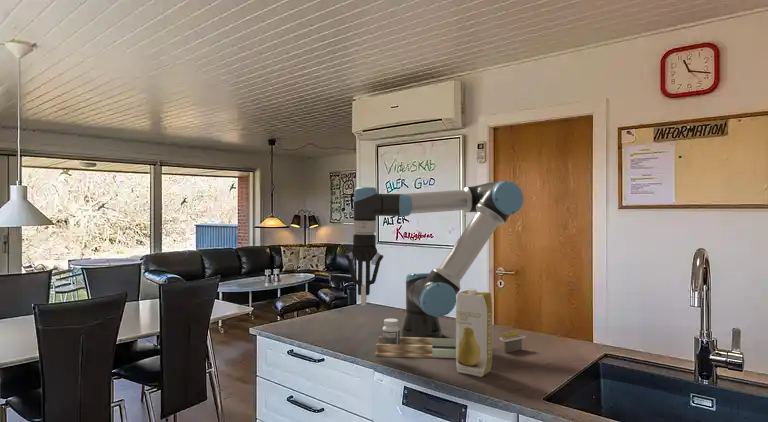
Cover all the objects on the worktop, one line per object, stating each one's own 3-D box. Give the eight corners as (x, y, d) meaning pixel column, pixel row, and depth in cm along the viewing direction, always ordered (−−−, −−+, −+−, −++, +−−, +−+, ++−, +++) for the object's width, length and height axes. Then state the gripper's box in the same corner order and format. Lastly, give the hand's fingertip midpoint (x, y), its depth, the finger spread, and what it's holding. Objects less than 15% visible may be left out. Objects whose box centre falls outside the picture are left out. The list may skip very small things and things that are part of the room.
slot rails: (431, 344, 170) (431, 336, 170) (432, 357, 155) (432, 348, 155) (379, 343, 172) (379, 334, 172) (375, 356, 156) (375, 346, 156)
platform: (478, 351, 164) (479, 331, 164) (515, 343, 174) (515, 325, 174) (506, 361, 154) (506, 340, 154) (544, 352, 164) (544, 332, 164)
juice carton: (452, 372, 141) (453, 288, 141) (464, 365, 148) (465, 285, 148) (483, 379, 136) (484, 291, 136) (494, 371, 142) (495, 288, 142)
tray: (473, 346, 168) (473, 339, 168) (477, 358, 155) (477, 350, 155) (431, 345, 170) (431, 337, 170) (432, 357, 156) (432, 349, 156)
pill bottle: (389, 346, 168) (389, 317, 168) (403, 349, 164) (403, 319, 164) (378, 350, 163) (379, 320, 163) (392, 353, 160) (392, 322, 160)
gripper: (343, 233, 161) (342, 306, 161) (383, 234, 160) (382, 307, 160) (346, 232, 168) (345, 302, 168) (385, 233, 167) (384, 303, 167)
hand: (363, 304), depth 164 cm, fingers closed
